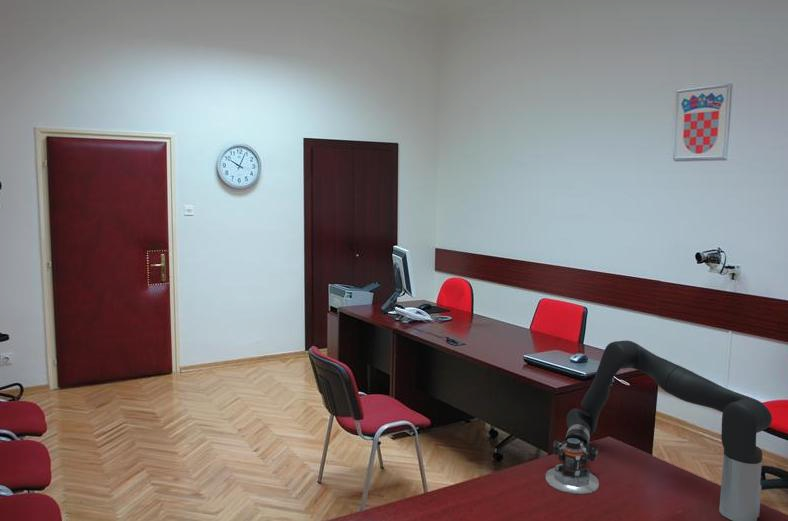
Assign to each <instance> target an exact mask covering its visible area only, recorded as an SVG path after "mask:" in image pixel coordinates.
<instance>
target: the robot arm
mask: <svg viewBox="0 0 788 521" xmlns="http://www.w3.org/2000/svg"><path fill="white" fill-rule="evenodd" d="M623 369H634V370H637V371H639V372H641V373H644V374H646V375H647V376H648V377H650V378H651V379H652V380H654V382H655V383H656V384H657V386H659V388H660V389H662V390H663V391H664V392H665V393H668V394H669V395H671V396H674V397H675V398H677V399H678V400H681V401H684V402H687V403H690V404H693V405H698V406H701V407H707V408H709V409H710V408H711V409H714V410H716V411H719V412H720V413H722V415H721V416H722V417H721V437H720V438H721V444H722V446H723V454H722V455H723V457H722V467H721V468H722V469H721V480H720V482H721V484H720V498H719V514H721V516H723V517H724V518H725V519H728V520H730V521H758V518H760V513H761V512H760V511H761V510H760V509H761V499H762V489H763V488H762V484H761V477H762V464H763V463H762V462H763V451H762V449H761V448H760V447H759V446H757V433H760V432H763V431H764V430H766V429H768V428H769V427H770V426H771V424H772V422H773V416H772V413H771V411H770V409H769V408H768V407H767V406H766V405H765V404H764V403H763V402H761V401H760V400H757V399H756V398H754V397H751V396H748V395H744V394H742V393H739V392H736V391H734V390H731V389H729V388H726V387H724V386H721V385H720V384H718V383H716V382H714V381H712V380H710V379H707V378H706V377H703V376H701V375H700V374H698V373H695V372H694V371H692V370H691V369H690V370H689V369H687V368H686V367H683V366H681V365H678V364H677V363H674V362H672V361H670V360H668V359H665V358H662V357H660V356H658V355H656V354H655V353H653V352H651V351H650V350H648V349H646V348H644V347H643V346H641V345H640V344H638V343H636V342H634V341H631V340H617V341H616V340H615V341H612V342H609V343H608V344H607V346H606V347H605V348H604V351H603V354H602V356H601V359H600V362H599V364H598V367H597V370H596V373H595V376H594V377H593V380H592V383H591V385H590V386H589V388H588V390H587V391H586V393H585V394H584V396H583V398H582V400H581V403H580V405H581V408H582V409H583V410H581V409H579V408H572V409H571V410H570V411H569V412H568V413H567V415H566V426H567V428H568V430H567V432H566V434H565V438H564V441H562V442H560V441H558V439H555V440H553V454H554V455H555V456H556V455H558V458H557V459H558V460H559V461H560V462H563V449H564V446H565V445H567V439H569V438H575V439H578V440H580V447H582V449H583V457H582V465H583V466H585V464H588V461H589V460H590V461H591V462H594V461H595V460H596V458H597V456H598V451H599V450H598V448H599V447H598V446H593V447H590V440H591V439H590V436H592V435H594V434H595V432H596V429H597V426H598V420H599V416H600V413H601V412H602V410H603V409H604V406H605V405H606V403H607V402H608V399H609V397H610V394H611V393H610V392H611V384H612V381H613V378H614V377H615V376H616V374H617V373H618V372H619V371H620V370H623Z"/></svg>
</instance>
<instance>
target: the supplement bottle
mask: <svg viewBox="0 0 788 521" xmlns="http://www.w3.org/2000/svg"><path fill="white" fill-rule="evenodd" d="M582 457H583V449H582V447H580V440H578V439H575V438H569V439H567V445H565V446H564V449H563V461H562V464H563V474H564V475H565V476H570V477H576V478H578V477H582V469H583V467H584V465H582Z"/></svg>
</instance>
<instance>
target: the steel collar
mask: <svg viewBox="0 0 788 521" xmlns="http://www.w3.org/2000/svg"><path fill="white" fill-rule="evenodd" d="M545 482H546V483H547V484H548V485H549V486H550V487H551V488H553V489H556V490H557V491H560V492H563V493H566V494H567V493H568V494H571V495H572V494H573V495H588V494H593V493H595V492H596V491H597V490H598V489H599V487H600V482H599V479H598V477H597V476H595V475H594V474H592V473H591V471H590V470H589V469H588V468H586V467H584V466H583V469H582V477H578V478H576V477H570V476H565V475H564V474H563V463H558V464H555V467H553V468H550V469H548V470H547V471H546V472H545Z"/></svg>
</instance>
